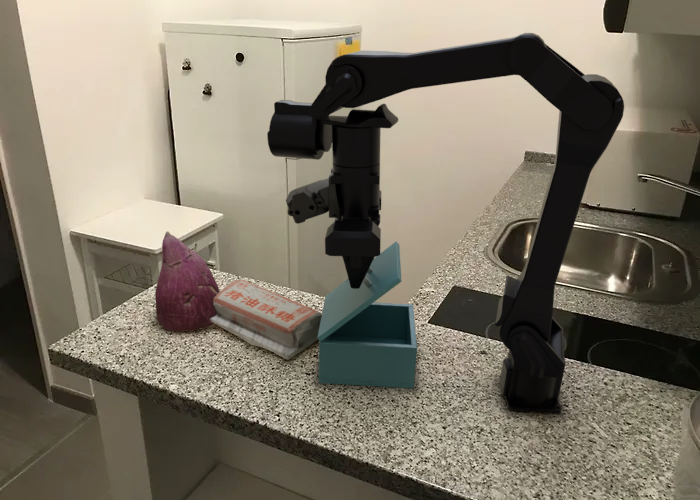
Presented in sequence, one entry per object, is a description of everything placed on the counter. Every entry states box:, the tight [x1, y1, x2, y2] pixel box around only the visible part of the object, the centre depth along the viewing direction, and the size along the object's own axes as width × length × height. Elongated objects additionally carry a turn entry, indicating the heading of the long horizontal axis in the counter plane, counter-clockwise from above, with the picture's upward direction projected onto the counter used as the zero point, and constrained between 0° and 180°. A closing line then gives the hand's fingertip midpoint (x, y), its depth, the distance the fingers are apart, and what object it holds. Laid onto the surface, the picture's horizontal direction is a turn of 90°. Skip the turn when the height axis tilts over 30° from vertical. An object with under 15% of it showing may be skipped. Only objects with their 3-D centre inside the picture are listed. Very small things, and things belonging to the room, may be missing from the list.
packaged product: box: [210, 279, 322, 361], centre depth 87 cm, size 18×5×10 cm
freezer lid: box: [317, 241, 402, 341], centre depth 76 cm, size 13×11×5 cm
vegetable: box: [154, 230, 221, 332], centre depth 89 cm, size 10×10×15 cm
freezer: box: [318, 302, 418, 389], centre depth 80 cm, size 12×11×6 cm
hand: (356, 278), depth 76 cm, fingers closed on freezer lid, 5 cm apart
